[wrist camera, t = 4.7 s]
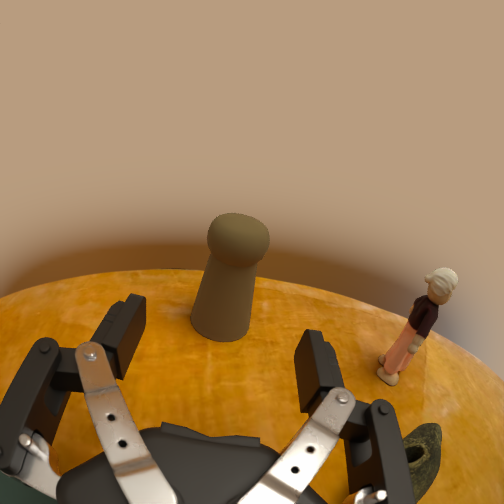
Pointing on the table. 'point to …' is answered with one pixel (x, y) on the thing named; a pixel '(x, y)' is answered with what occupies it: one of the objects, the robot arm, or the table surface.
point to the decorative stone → (423, 456)
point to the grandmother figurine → (418, 324)
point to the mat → (21, 493)
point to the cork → (229, 277)
